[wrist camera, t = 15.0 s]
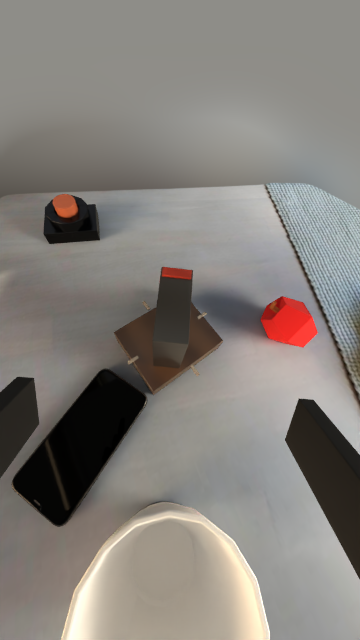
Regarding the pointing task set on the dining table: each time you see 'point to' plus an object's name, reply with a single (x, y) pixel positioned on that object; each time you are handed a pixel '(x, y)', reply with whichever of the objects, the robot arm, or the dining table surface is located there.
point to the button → (65, 205)
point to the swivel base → (140, 347)
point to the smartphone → (79, 447)
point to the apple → (288, 322)
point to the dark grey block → (172, 317)
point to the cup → (167, 583)
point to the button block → (72, 224)
